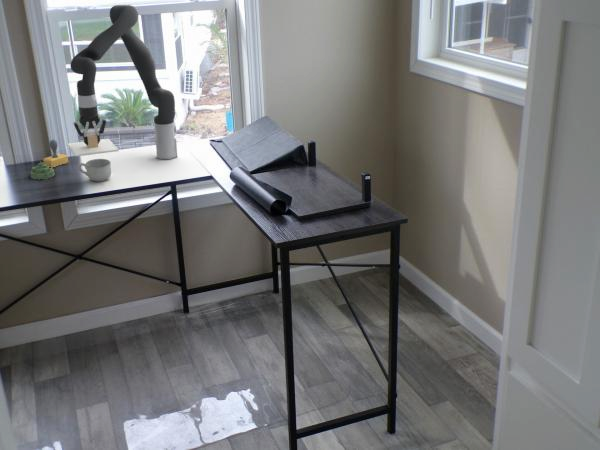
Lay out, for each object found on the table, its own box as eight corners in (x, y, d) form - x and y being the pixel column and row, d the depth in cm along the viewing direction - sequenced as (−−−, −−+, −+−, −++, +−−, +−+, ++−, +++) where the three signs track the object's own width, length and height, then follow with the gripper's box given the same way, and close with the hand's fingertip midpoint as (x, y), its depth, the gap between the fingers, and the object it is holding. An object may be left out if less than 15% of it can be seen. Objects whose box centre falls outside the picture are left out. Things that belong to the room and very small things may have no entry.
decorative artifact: (32, 173, 305) (29, 180, 296) (30, 158, 302) (27, 165, 293) (55, 172, 307) (53, 179, 298) (53, 157, 304) (51, 164, 295)
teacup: (115, 176, 302) (114, 159, 299) (107, 184, 292) (105, 166, 289) (86, 174, 303) (83, 157, 300) (76, 182, 294) (74, 165, 290)
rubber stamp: (60, 160, 322) (57, 136, 317) (68, 162, 320) (65, 138, 315) (43, 166, 314) (39, 141, 310) (52, 168, 312) (48, 143, 307)
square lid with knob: (108, 140, 303) (107, 127, 301) (118, 151, 289) (117, 138, 287) (67, 145, 296) (65, 132, 293) (75, 156, 281) (74, 143, 279)
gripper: (102, 101, 291) (106, 139, 298) (68, 104, 285) (73, 143, 291) (106, 105, 285) (110, 144, 292) (72, 108, 279) (77, 148, 285)
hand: (92, 143), depth 291 cm, fingers closed on square lid with knob, 4 cm apart
